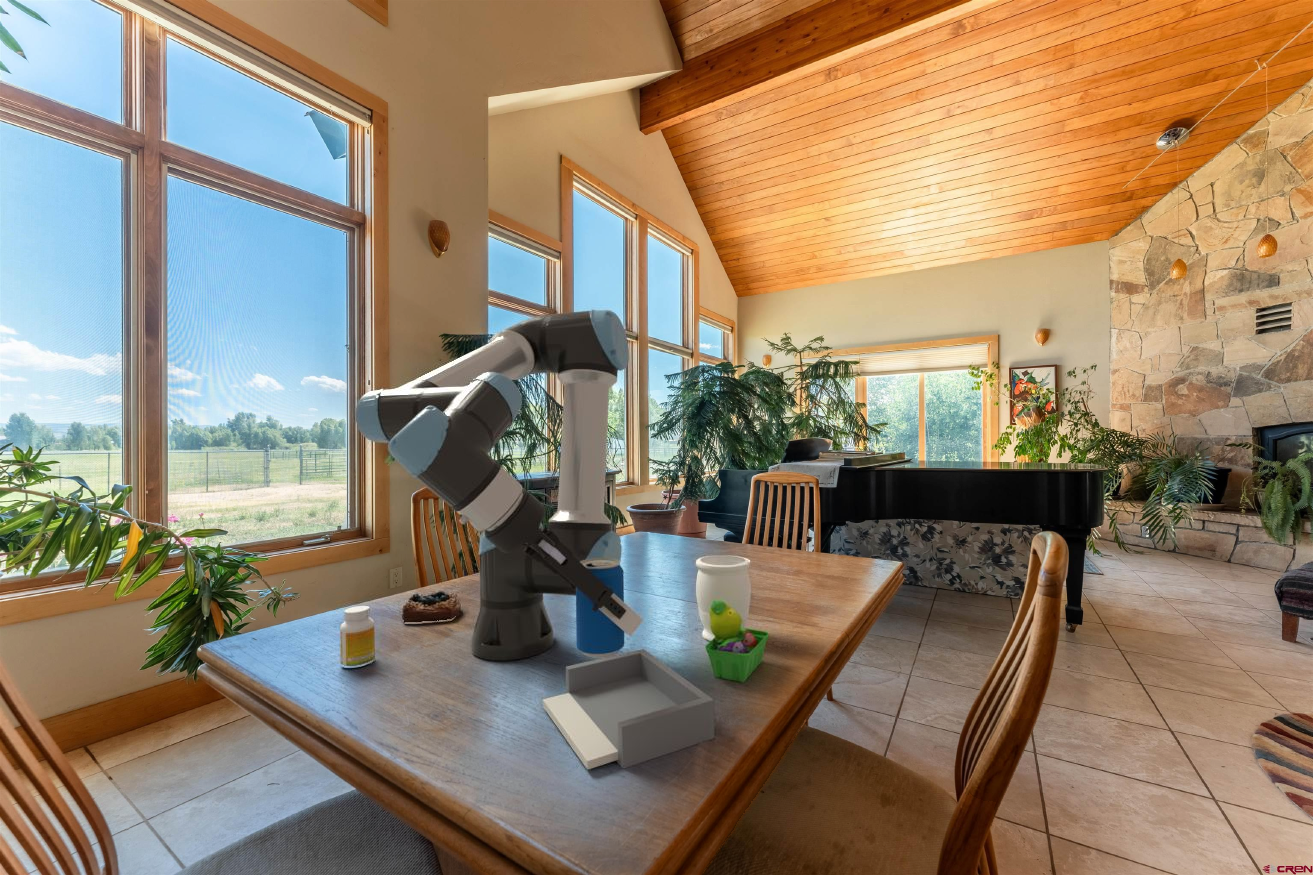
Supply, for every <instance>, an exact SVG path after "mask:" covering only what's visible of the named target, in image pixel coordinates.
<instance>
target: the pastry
mask: <svg viewBox="0 0 1313 875" xmlns="http://www.w3.org/2000/svg"><path fill="white" fill-rule="evenodd" d="M401 609H402V611H401V612H402V614H401V618H402V621H403V620H404V622H422V621H437V620H438V621H439V620H447V619H452V618H454V617H455V616H457V615H458V616H459V614H460V612H461V609H462V605H461V601H460V599H459V598H458V594H457V593H452V592H450V593H446V592H444V591H443V590H439V591H437V592H434V593H431V594H425V593H424V594H423V593H421V594H419V593H417V592H416V593H414V594H412V596H410V597H409V598H408V602H406V603H405V605H403V606H402V608H401ZM459 611H460V612H459ZM458 616H457V617H458ZM404 622H403V623H404Z"/></svg>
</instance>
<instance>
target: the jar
mask: <svg viewBox="0 0 1313 875" xmlns="http://www.w3.org/2000/svg"><path fill="white" fill-rule="evenodd" d="M695 566H696V567H697V568H698V572H697V574H696V581H695V582H696V584H695V595H696V596H695V597H696V602H697V607H698V614H699V618H700V620H701V623H702V625H703V627H704V629H703V630H702V632H701V635H702V638H704V639H705V640H707V641H709V642H710V641H712V640H713V639H714V638H715V636H714V635H713V633H712V631H711V628H710V613H709V611H710V608H711V605H712V603H713V601H718V600H721V601H723V602H725V603H726V604H727V605H728V606H730V607H731V608H732V609H733V610H734V611H736V612H737V613H738V614H739V615H740V616H741V618H742V624H741V627H742V628H745V626H746V624H747V622H748V617H749V612H750V603H751V595H752V592H751V590H752V589H751V580H750V575H749V570H748V569H749V568H750V566H751V560H750V559H748V558H746V557H744V556H738V555H726V554H725V555H724V554H722V555H721V554H719V555H715V554H714V555H707V556H700V557H699V558H697V559H696V561H695Z"/></svg>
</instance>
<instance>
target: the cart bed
mask: <svg viewBox="0 0 1313 875" xmlns="http://www.w3.org/2000/svg"><path fill="white" fill-rule="evenodd" d="M542 707H543V709H544V710H545V712H546V713H547V715H548V716H549V717H550V719H551V720H552V722H553V724H555V726H556V727H557V729H558V730H559V731H560V733H561V735H563V737H564V739H565V740H566V741H567V743H568V744H569V746H570V747H571V749H572V750H573V752H575V754H576V755H577V757H578V759H579V760H580V761H581V763H582V764H583V765H584V767H585V769H586V770H591V769H594V768H597V767H600V766H603V765H605V764H609V763H611V762H612V763H613V762H615V761H616V762H617V763H618V766H620V768H622V770H624V769H626V768H630V767H632V766H636V765H639V764H641V763H644V762H648V761H650V760H653V759H656V758H659V757H663V756H666V755H669V754H672V753H675V752H677V751H681V750H683V749H686V748H689V747H693V746H695V745H698V744H701V743H703V742H707V741H710V740H712V739H715V700H714V698H712V697H711V696H709V695H708V694H706V693H705V692H704V691H703V690H701V689H699V688H698V687H697V686H695V685H694V684H693V683H691V682H690V681H688V680H687V679H686V678H684V677H683V676H681V675H680V674H679V673H677V672H676V671H674V670H673V669H671V667H669V666H667V664H665V663H663V661H661V660H659V659H658V658H657V657H655V656H654V655H652V654H651V653H650V652H648V651H647V650H646V649H645V648H642V649H638V650H633V651H629V652H624V653H619V654H615V655H613V656H610V657H605V658H596V659H594V660H590V661H589V660H588V661H586V662H585V661H583V662H580V663H575V664H572V665H567V666H565V693H563V694H560V695H555V696H550V697H547V698H542Z"/></svg>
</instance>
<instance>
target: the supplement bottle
mask: <svg viewBox="0 0 1313 875" xmlns="http://www.w3.org/2000/svg"><path fill="white" fill-rule="evenodd" d="M370 608H371V607H370V606H368V605H357V606H352V607H349V608H346V609H345V610H344V613H343V615H344V616H343V618H344V620H345V621H344V622H342V623H341V625H340V628H339V629H340V630H339V637H340V638H339V641H340V642H339V644H340V665H341V664H342V665H344V666H357V665H362V664H365V663H368V662H370V661H372V660H374V659H376V642H375V641H376V640H375V639H376V638H375V632H376V631H375V621H374V620H373V618H371V617H370V615H371V611H370V610H371V609H370ZM374 661H375V660H374Z"/></svg>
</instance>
